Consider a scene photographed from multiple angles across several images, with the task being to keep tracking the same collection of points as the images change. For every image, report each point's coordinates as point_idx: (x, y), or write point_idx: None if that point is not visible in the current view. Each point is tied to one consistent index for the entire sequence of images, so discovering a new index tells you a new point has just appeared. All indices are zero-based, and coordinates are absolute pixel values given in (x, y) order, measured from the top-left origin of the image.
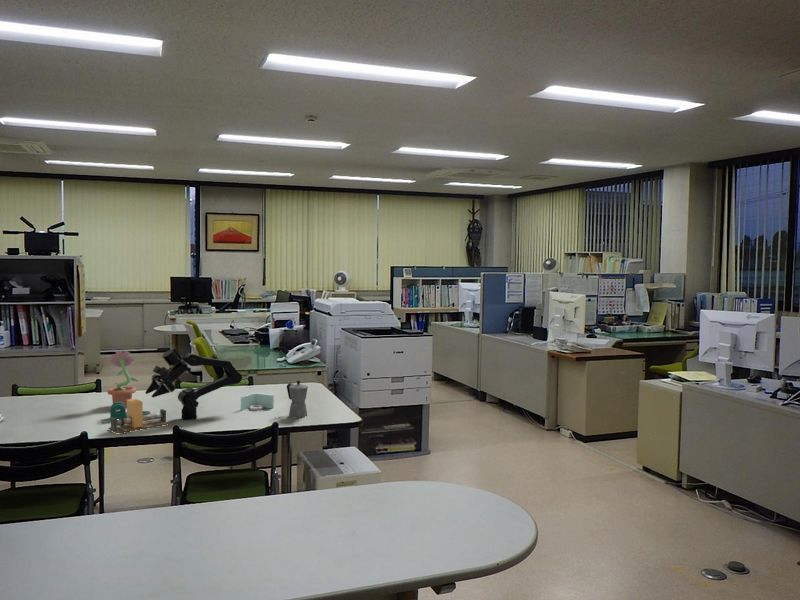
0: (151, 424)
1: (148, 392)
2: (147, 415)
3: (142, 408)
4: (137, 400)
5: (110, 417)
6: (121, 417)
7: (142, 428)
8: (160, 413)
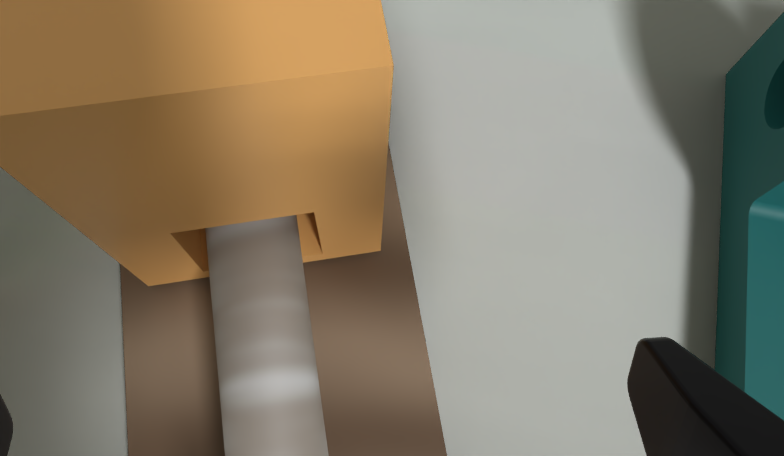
0: (216, 424)
1: (652, 442)
2: (236, 361)
3: (31, 190)
4: (143, 56)
5: (749, 50)
6: (740, 165)
7: (122, 279)
8: None
